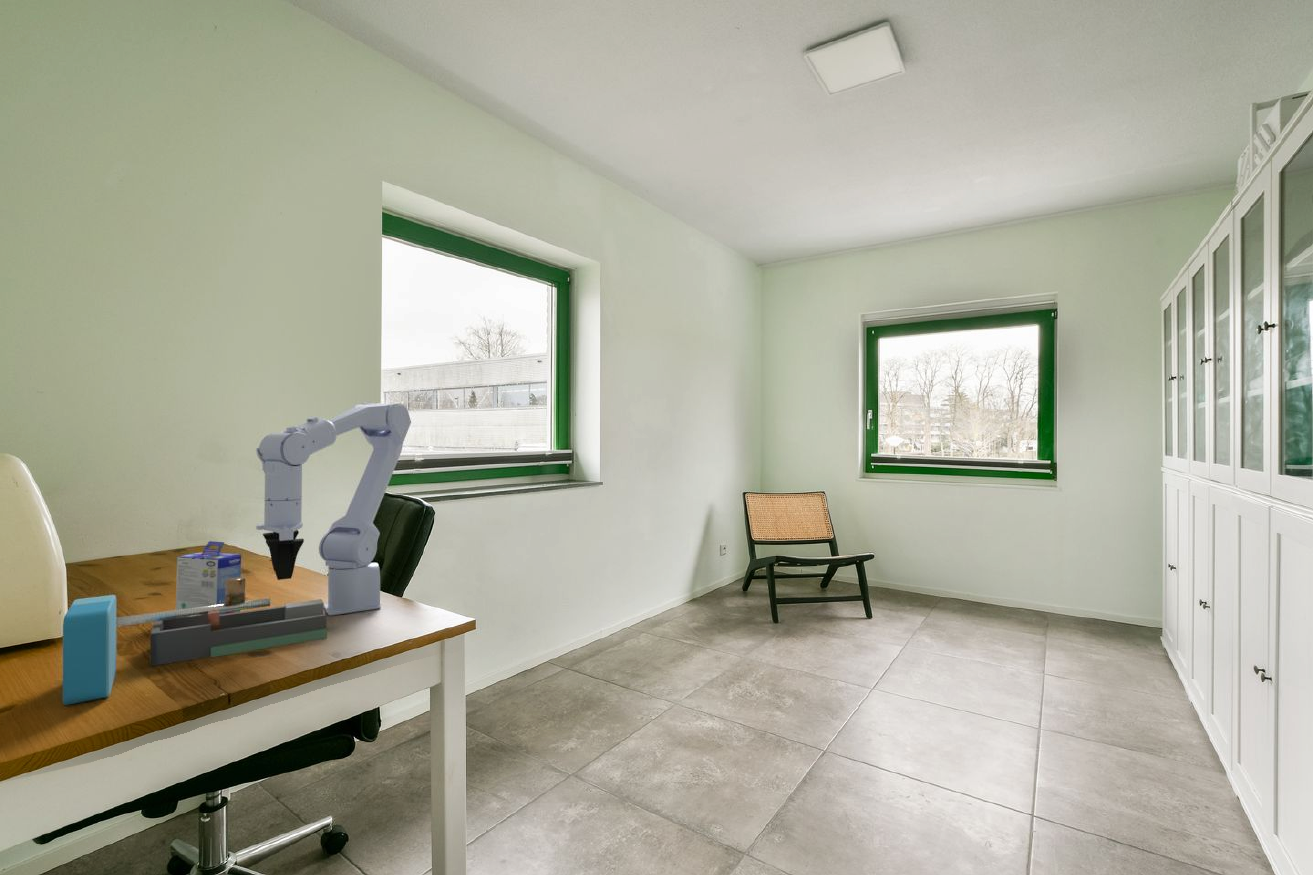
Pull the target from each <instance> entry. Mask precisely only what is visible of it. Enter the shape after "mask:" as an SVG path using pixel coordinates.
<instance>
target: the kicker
mask: <svg viewBox="0 0 1313 875" xmlns="http://www.w3.org/2000/svg"><path fill="white" fill-rule="evenodd" d="M270 606H271V598H270V597H268V598H267V597H266V598H260V599H259V598H258V599H251V600H246V577H243V576H241V577H236V578H230V579H226V599H225V604H219V605H211V606H203V607H195V608H188V609H180V610H176V609H174V610H172V609H171V610H167V611H158V612H150V613H143V614H133V615H126V616H119V617H116V628H117V627H125V626H133V625H140V624H147V623H154V622H156V621H163V620H171V619H178V618H185V617H193V616H200V615H208V624H211V631H214V630H219V613H222V612H230V611H237V610H240V611H242V610H243V611H246V610H250V609H251V610H252V609H259V608H265V607H267V608H268V607H270Z"/></svg>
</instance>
